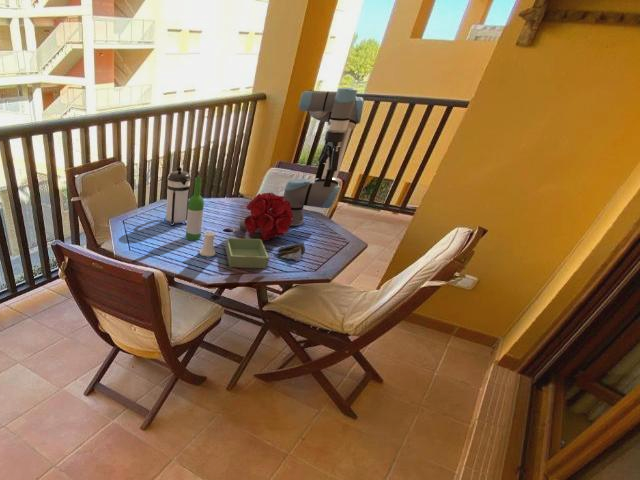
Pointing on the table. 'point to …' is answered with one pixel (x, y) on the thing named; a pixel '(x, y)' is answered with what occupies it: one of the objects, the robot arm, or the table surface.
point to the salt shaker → (208, 245)
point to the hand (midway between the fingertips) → (322, 182)
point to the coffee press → (177, 196)
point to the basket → (246, 253)
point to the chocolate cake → (292, 251)
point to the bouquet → (268, 216)
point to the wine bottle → (195, 213)
